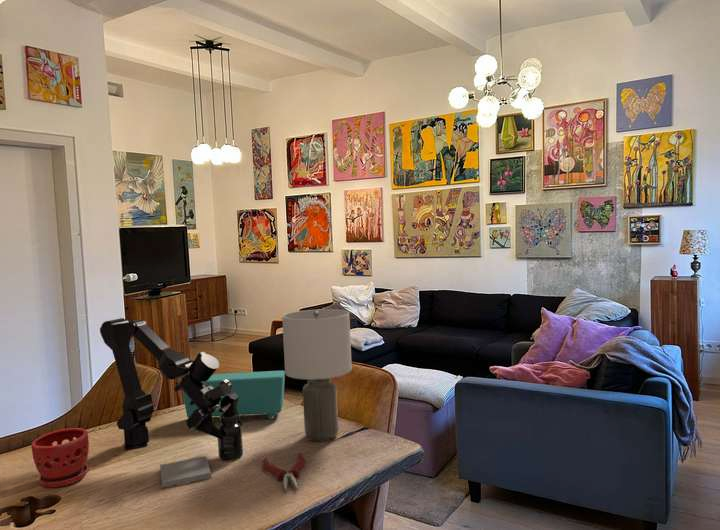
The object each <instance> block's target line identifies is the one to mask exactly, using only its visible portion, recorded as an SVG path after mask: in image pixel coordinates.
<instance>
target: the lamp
mask: <svg viewBox="0 0 720 530" xmlns="http://www.w3.org/2000/svg"><path fill="white" fill-rule="evenodd" d="M281 317H282V318H281V319H282V336H283V337H282V339H283V354H284V356H283V357H284V371H285V376H287V377H289V378H292V379H295V380H296V379H297V380H307V383H306V384H304V385H303V388H302V405H303V420H304V423H303V424H304V428H303V429H304V435H305V437H306V438H307V439H308V440H309V439H311V440H310V441H312V440H313V442H317V441H319V442H327V440H328V441H331V440H333V439H335V438H336V436H337V435H338V432H339V418H338V417H339V416H338V415H339V414H338V397H337V396H338V395H337V392H338V391H337V390H338V389H337V386H336V384H335V382H332V381H331V379H333V378H338V377H342V376H344V375H347V374H349V373H351V371H352V369H353V368H352V366H353V365H352V346H351V345H352V342H351V326H350V325H351V323H350V311H349V310H346V309H345V310H344V309H334V308H333V309H332V308H331V309H329V308H327V309H325V308H322V309H317V308H316V309H306V310H298V311H292V312H286V313H285V314H282V316H281Z"/></svg>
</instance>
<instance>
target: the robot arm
mask: <svg viewBox="0 0 720 530" xmlns="http://www.w3.org/2000/svg"><path fill="white" fill-rule="evenodd" d="M99 332H100V335H101V339H102V340H103V342H104V344H105V345H106V346H107V347H108V348H109V349H110V350H111V351H112V354H113V358H114V362H115V365H116V368H117V372H118V375H119V379H120V383H121V385H122V390H123V392H124V397H123V402H122V412H123V413H122V415H121V416H120V417H119V419H118V420H117V421H116V425H117V428H118V430H123V438H124V439H123V440H124V445H123V446H124V450H126V451H127V450H131V449H137V448H142V447H147V446H148V443H149V442H150V439H149V438H150V437H149V426H147V425H146V423H149V422H151V420H152V415H153V413H154V411H155V408H154V406H155V403H154V401H153V397H152V394H151V393H150V392H149V393H146V392H145V391H144V390H143V389H142V386H141V382H140V379H139V375H138V372H137V368H136V365H135V362H134V357H133V354H132V351H131V346H130V344H131V339H132V336H133V337H134V338H135V339H136V340H137V341H138V342H139V343H140V344H141V346H143V347H144V348H145V350H147V351H148V352H149V353H150V354H151V355H152V356H153V357H154V358H155V360H156V361H157V362H158V368H159V370H160V372H162V374H163V376H164V377H165V378H167V380H176V379H178V378H181V379H180V380H177V381H175V386H174V392H178V391H181V390H183V391H184V392H185V393H186V395H187V396H188V397H189V398H190V399H191V402H190V405H191V406H192V405H194V404H195V405H196V407H197V408H198V409H197V410H195V411H194V412H193V413H192V414H191V415H190V416H189V418H188V417H187V419H186V420H185V426H186V427H187V428H188V429H189V431H192V430H193V431H195V432H196V431H198V432H201V433H203V434H207V435H209V436H212V437H215V438H216V439H218V438H219V439H222V438H223V437H224V436H223V434H222V433H221V431H220V430H219V429H218V427H219V426H217V425H216V423H215V422H214V421H213V417H212V414H213V413H215V412H217V411H219V412H221V413H223V414H227V413H236V414H237V419H238V421H237V423H239V424H240V425H241V428H242V427H243V422H242V421H241V417H240V415H238V412H237V403H238V399H239V396H238V395H237V394H236V393H231V392H232V391H231V389H232V384H231V383H230V382H229V381H228V380H227V379H226V380H223V381H222V382H220V386H218V387H215V388H213V387H212V386H209V387H207V386H206V385H205V384H204V382H205V381H207V380H208V379H209V378H210V377H211V376H212V375H213V374H214V373H215V372H216V371H217V369H219V367H220V363H219V360H218V359H217V358H216V357H214V356H212V355H211V354H207V353H206V351H201V352H199V353H198V354H197V355H196V358H194V360H192V359H189V358H188V357H187V356H186V355H184V354H183V353H181V352H180V351H178V350H174V349H172V348H171V347H170V346H169V345H167V343H166V342H165V341H164V340H163V339H161V338H160V336H158V334H157V333H156V332H154V330H152V329H151V327H150V326H149V325H148V323H147V321H146V320H145V319H137V320H136V319H133V320H129V319H125V318H123V317H120V318H115V319H110V320H106V321H103V323H102V324H101V326H100V328H99ZM183 391H182V392H183ZM227 393H230V394H228V395H226V394H227ZM224 395H226V396H225V397H224V398H223V397H222V396H224ZM222 398H223V399H222ZM221 399H222V400H221ZM220 400H221V401H220ZM219 401H220V402H219ZM215 408H216V409H215ZM223 414H222V415H223Z"/></svg>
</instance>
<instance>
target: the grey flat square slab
mask: <svg viewBox="0 0 720 530" xmlns="http://www.w3.org/2000/svg"><path fill="white" fill-rule="evenodd" d="M159 471H160V477H161V487H162V488H163V487H166V488H169V487H168V486H171V487H173V486H172V485H176V486H179V485H178V484H181V485H184V484H183V483H186V484H188V483H187V482H191V483H195V482H194V481H196V482H200V481H199V480H201V481H204V479H205V480H210V479H212V472H211V468H210V466H209V463H208V459H207V457H206V456H201V457H200V456H199V457H195V458H190V459H183V460H180V461H173V462H169V463H163V464H159ZM209 478H210V479H209Z"/></svg>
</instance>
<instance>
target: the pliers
mask: <svg viewBox="0 0 720 530" xmlns="http://www.w3.org/2000/svg"><path fill="white" fill-rule="evenodd" d="M305 465H306V457H305V456H304V454H303V453H302V452H298V460H297V462H296V463H295V464H294V465H293V466H292V467H291V468H290V469H289V470H288V472H287V471H286V469H283V468H281V467H278V466H276V465H274V464H272V463H270V462H269V461H268V457H264V458H263V459H262V468H263V470H264V471H265V472H266V473H267V472H268V474H270V475H271V476H273V475H274V476H273V477H276V482H277V483H278V482H282V481H283V483H282V484H283V487H284V488H283V489H284V490H285V491H284V492H287V490H288V486H289V485H288V484H289V483H291V485H292V487H293V488H295V489H296V490H299V488H298V483H297V480H298V479H299V478H300V472H301V470H302V469H304V467H305ZM296 479H297V480H296Z"/></svg>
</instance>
